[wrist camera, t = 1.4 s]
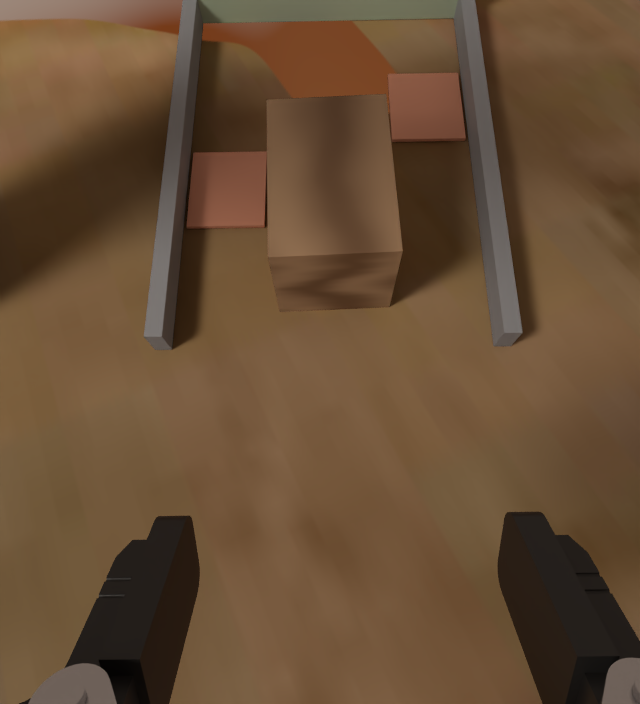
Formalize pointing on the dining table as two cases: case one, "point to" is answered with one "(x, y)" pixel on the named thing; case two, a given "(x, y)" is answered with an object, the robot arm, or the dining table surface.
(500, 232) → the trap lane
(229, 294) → the dining table surface
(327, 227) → the walnut block
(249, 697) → the dining table surface
